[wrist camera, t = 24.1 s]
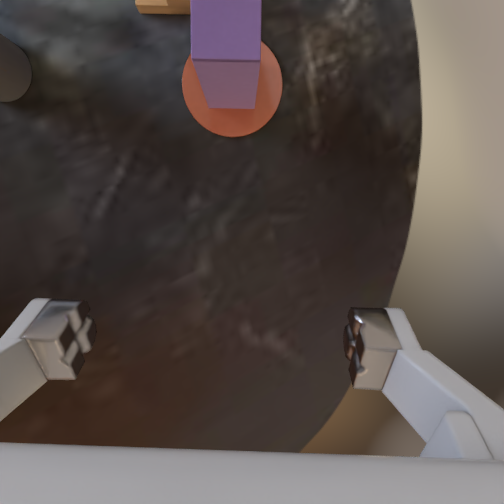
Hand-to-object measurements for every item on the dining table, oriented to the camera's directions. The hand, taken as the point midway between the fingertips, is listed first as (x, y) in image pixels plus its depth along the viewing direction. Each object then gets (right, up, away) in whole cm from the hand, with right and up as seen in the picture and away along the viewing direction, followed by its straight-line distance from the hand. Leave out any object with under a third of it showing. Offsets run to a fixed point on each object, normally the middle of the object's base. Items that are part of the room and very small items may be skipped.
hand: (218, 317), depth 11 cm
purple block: (-1, +16, +18) cm, 24 cm away
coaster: (-1, +19, +24) cm, 30 cm away
